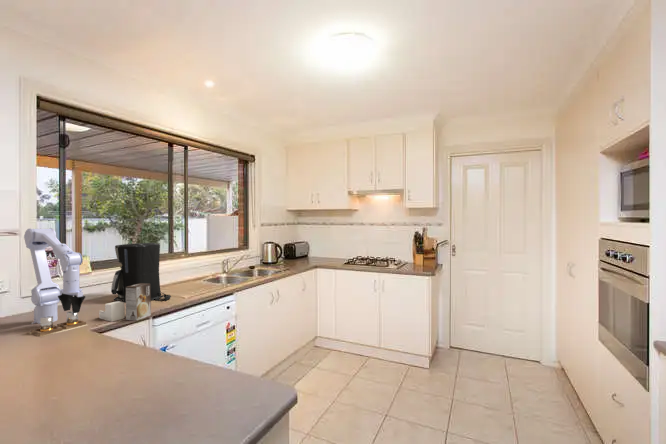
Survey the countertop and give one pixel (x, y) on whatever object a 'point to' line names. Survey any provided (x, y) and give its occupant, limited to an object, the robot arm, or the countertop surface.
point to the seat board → (58, 328)
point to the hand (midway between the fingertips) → (71, 311)
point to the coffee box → (138, 301)
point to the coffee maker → (138, 269)
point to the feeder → (113, 311)
